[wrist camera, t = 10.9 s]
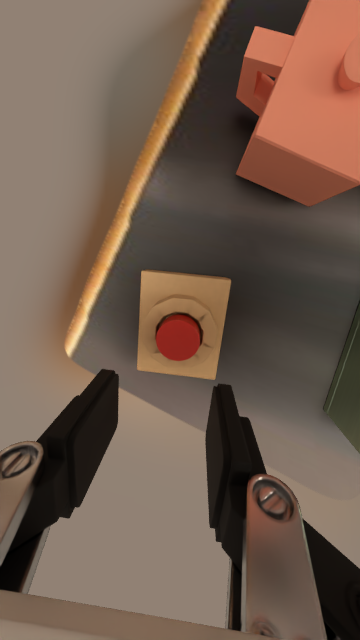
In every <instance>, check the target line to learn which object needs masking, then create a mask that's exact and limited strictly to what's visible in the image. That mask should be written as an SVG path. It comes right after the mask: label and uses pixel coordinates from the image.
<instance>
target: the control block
mask: <svg viewBox="0 0 360 640" xmlns="http://www.w3.org/2000/svg"><path fill="white" fill-rule="evenodd" d="M230 285H231V280H230V279H229V278H226V277H217V276H207V275H197V274H188V273H178V272H168V271H159V270H149V269H147V270H143V271H141V292H140V315H139V338H138V361H137V370H141V371H149V372H157V373H165V374H173V375H181V376H189V377H197V378H205V379H213V380H215V378H216V372H217V365H218V359H219V353H220V347H221V341H222V335H223V328H224V322H225V316H226V310H227V304H228V298H229V291H230ZM177 314H181V315H186V316H188V317H190V318H192V319H193V320H194V321H195V322H196V324H197V325H198V327H199V331H200V345H199V349H198V350H197V352H196V353H195V354H194V355H193V356H192V357H191V358H189V359H187V360H183V361H174V360H170V359H168V358H166V357H165V356H163V355H162V354H161V352H160V351H159V349H158V347H157V344H156V335H157V332H158V330H159V328H160V326H161V324H162V323H163V321H164V320H165V319H166V318H168V317H170V316H172V315H177Z"/></svg>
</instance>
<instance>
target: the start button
mask: <svg viewBox="0 0 360 640" xmlns="http://www.w3.org/2000/svg"><path fill="white" fill-rule="evenodd" d="M156 344H157V347H158V349H159V351H160V352H161V354H162V355H163V356H165V357H166V358H168V359H170V360H174V361H183V360H187V359H189V358H191V357H192V356H193V355H194V354H195V353H196V352H197V350H198V349H199V345H200V331H199V327H198V325H197V324H196V322H195V321H194V320H193V319H192V318H190V317H188V316H186V315H181V314H177V315H172V316H170V317H168V318H166V319H165V320H164V321H163V323H162V324H161V326H160V328H159V330H158V332H157V335H156Z"/></svg>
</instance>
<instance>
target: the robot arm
mask: <svg viewBox="0 0 360 640" xmlns="http://www.w3.org/2000/svg"><path fill="white" fill-rule="evenodd" d="M118 385H119V376H118V374H115V371H114V370H105V369H102V370H101V371H100V372H99V373H98V374H97V375H96V377H95V378H94V379H93V380H92V381H91V383H90V384H89V385H88V386H87V388H86V389H85V390H84V391H83V392H82V393H81V395H80V396H79V395H78V396H76V397H74V399H73V400H72V401H71V402H70V403H69V404H68V405H67V406H66V408H65V409H64V410H63V411H62V412H61V413H60V415H59V416H58V417H57V418H56V419H55V420H54V421H53V423H52V424H51V425H50V426H49V427H48V429H47V430H46V431H45V432H44V433H43V434H42V435H41V437H40V438H39V439H38V440H37V441H36V442H35V441H23V442H18V443H16V444H13V445H10V446H9V447H6V448H5V449H3V450H1V451H0V640H360V569H359V568H358V567H357V566H356V565H355V564H354V563H352V562H351V561H350V560H349V559H348V558H347V557H346V556H344V555H343V554H342V553H341V552H340V551H339V550H338V549H336V548H335V547H334V546H333V545H332V544H331V543H330V542H328V541H327V540H326V539H325V538H324V537H323V536H322V535H321V534H319V533H318V532H317V531H316V530H315V529H314V528H313V527H312V526H310V525H309V524H308V523H307V522H306V521H305V520H304V519H302V515H301V510H300V506H299V503H298V500H297V498H296V497H295V495H294V494H293V492H292V491H291V489H290V488H289V487H288V486H287V485H286V484H285V483H283V482H282V481H281V480H279V479H278V478H276V477H273V476H271V475H267V473H266V470H265V466H264V463H263V460H262V457H261V454H260V451H259V448H258V445H257V442H256V438H255V435H254V432H253V429H252V426H251V423H250V420H249V418H247V417H240V416H239V413H238V410H237V406H236V402H235V398H234V394H233V391H232V387H231V385H226V384H218V387H216V386H214V387H213V393H212V399H211V405H210V411H209V418H208V424H207V430H206V461H207V481H208V502H209V503H208V504H209V524H210V528H214V529H215V533H216V541H217V542H221V543H222V548H223V549H224V551H225V552H226V553H227V554H228V556H229V557H230V562H229V577H228V592H227V607H226V622H225V629H224V628H218V627H212V626H207V625H201V624H195V623H190V622H184V621H179V620H173V619H168V618H163V617H157V616H151V615H145V614H140V613H133V612H128V611H122V610H117V609H111V608H105V607H99V606H93V605H88V604H82V603H76V602H70V601H64V600H59V599H53V598H47V597H41V596H35V595H30V594H28V591H29V588H30V585H31V582H32V580H33V577H34V574H35V571H36V568H37V565H38V562H39V559H40V556H41V553H42V550H43V547H44V545H45V542H46V539H47V535H48V533H49V530H50V526H51V525H52V524H54V523H55V522H57V521H58V519H59V517H63V518H70V516H71V514H72V512H73V510H74V508H75V507H80V505H81V503H82V501H83V499H84V497H85V495H86V493H87V491H88V488H89V486H90V484H91V482H92V480H93V478H94V476H95V473H96V471H97V469H98V467H99V465H100V463H101V460H102V458H103V456H104V454H105V452H106V450H107V447H108V445H109V443H110V441H111V439H112V437H113V435H114V432H115V430H116V428H117V424H118Z"/></svg>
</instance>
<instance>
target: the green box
mask: <svg viewBox="0 0 360 640" xmlns="http://www.w3.org/2000/svg"><path fill="white" fill-rule="evenodd" d="M323 410H324V411H325V412H326V413H327V415H328V416H329V417H330V418H331V419H332V421H333V422H334V423H335V424H336V425H337V427H338V428H339V429H340V430H341V432H342V433H343V434H344V435H345V436H346V438H347V439H348V440H349V441H350V442H351V444H352V445H353V446H354V447H355V449H356V450H357V451H358V452H359V453H360V303H359V306H358V309H357V312H356V315H355V317H354V320H353V323H352V326H351V329H350V332H349V335H348V338H347V341H346V344H345V347H344V350H343V353H342V356H341V359H340V361H339V364H338V367H337V370H336V373H335V376H334V379H333V382H332V385H331V388H330V391H329V394H328V397H327V400H326V403H325V405H324V408H323Z"/></svg>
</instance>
